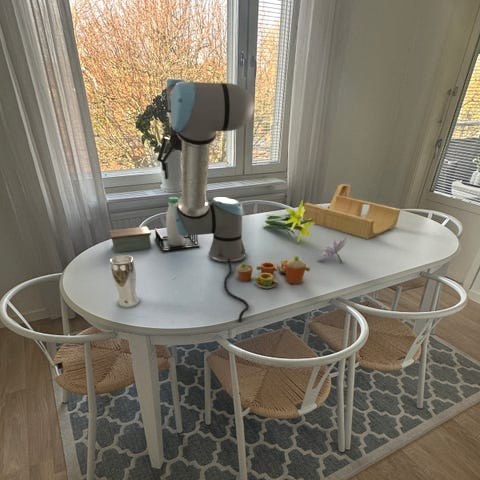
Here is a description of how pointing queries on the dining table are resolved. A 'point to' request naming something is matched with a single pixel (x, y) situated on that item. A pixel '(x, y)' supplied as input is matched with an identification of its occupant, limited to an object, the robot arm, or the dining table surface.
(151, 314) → the dining table surface
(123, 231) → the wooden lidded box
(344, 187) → the skate ramp
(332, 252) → the water lily
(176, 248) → the dish rack
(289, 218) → the daffodil flowers
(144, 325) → the dining table surface
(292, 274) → the toy tea set
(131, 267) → the beer glass
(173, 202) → the milk bottle
